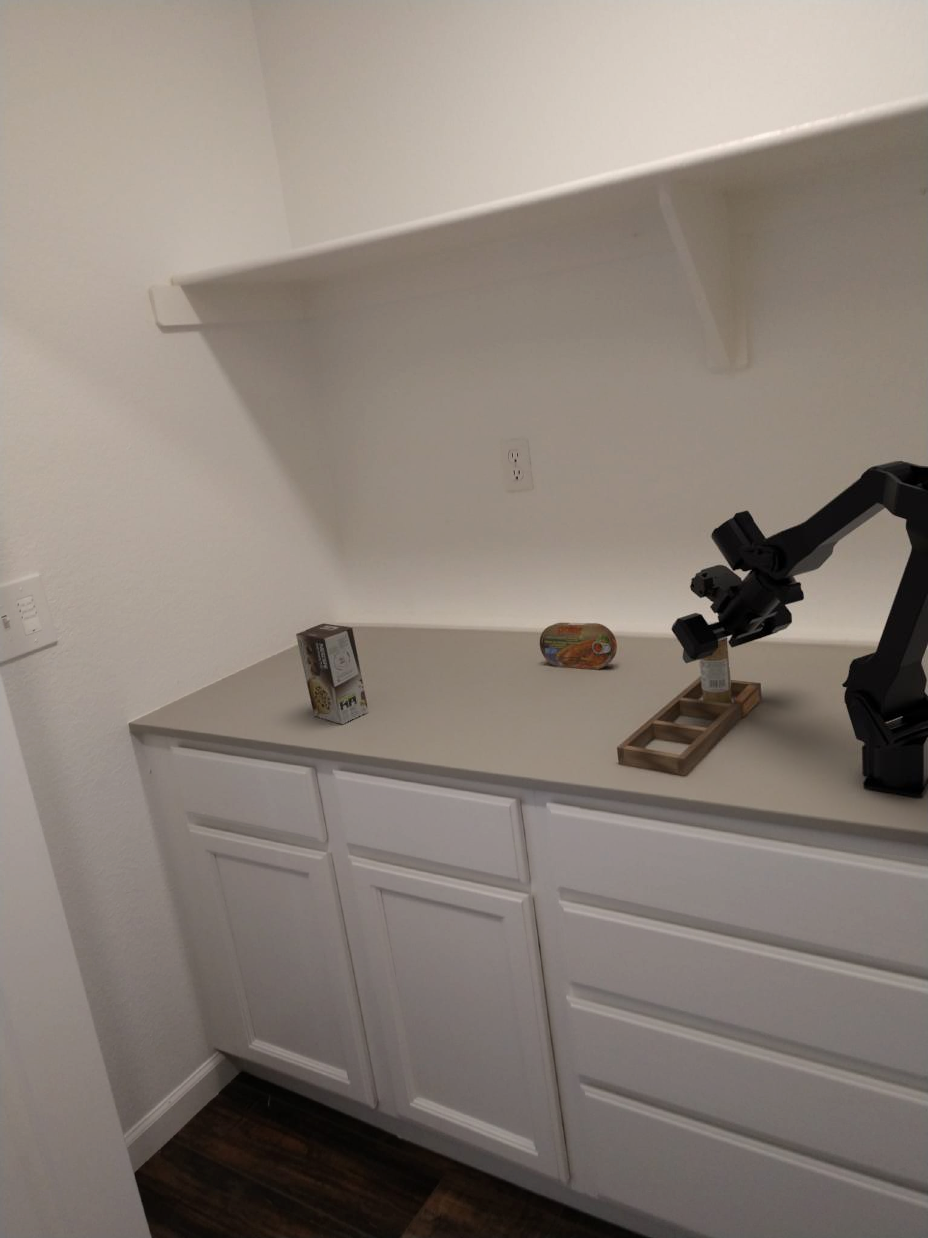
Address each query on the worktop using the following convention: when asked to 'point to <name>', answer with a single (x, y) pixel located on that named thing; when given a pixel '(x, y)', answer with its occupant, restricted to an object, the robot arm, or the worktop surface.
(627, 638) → the worktop surface
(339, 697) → the coffee box
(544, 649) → the tin
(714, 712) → the rack
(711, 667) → the sprinkles bottle
